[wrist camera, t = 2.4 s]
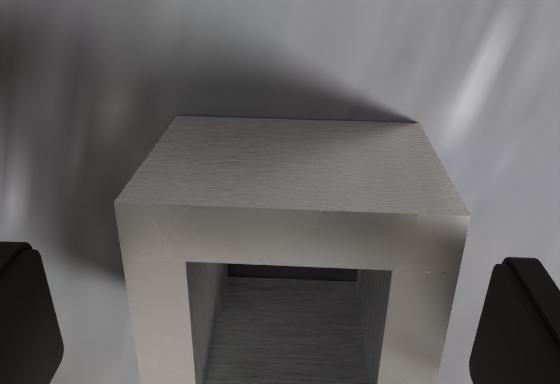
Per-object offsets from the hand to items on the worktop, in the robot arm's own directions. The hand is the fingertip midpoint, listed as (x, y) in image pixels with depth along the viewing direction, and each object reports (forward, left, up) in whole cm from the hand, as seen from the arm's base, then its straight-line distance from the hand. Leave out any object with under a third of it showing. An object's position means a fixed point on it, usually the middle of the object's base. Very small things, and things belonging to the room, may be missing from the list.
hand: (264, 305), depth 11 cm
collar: (0, +1, -5) cm, 5 cm away
